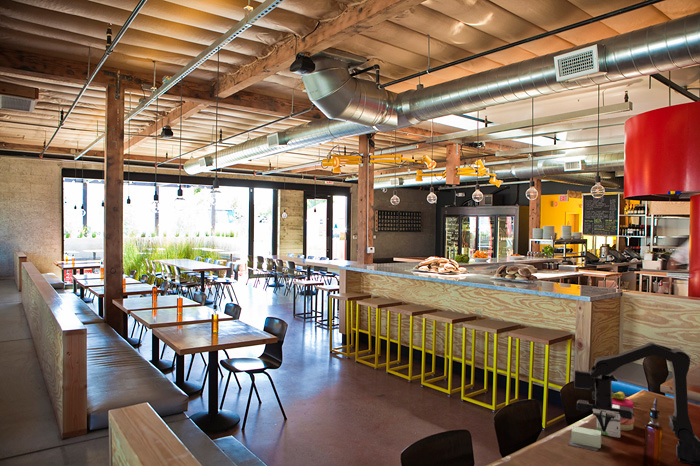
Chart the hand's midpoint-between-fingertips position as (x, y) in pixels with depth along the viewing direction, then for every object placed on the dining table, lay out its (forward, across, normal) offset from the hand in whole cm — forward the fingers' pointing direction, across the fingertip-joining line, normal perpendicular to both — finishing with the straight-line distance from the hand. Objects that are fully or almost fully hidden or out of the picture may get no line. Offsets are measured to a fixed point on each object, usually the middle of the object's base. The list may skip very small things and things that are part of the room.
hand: (604, 431), depth 178 cm
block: (+4, +1, 0) cm, 4 cm away
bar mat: (+6, +7, 0) cm, 9 cm away
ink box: (+6, -1, -15) cm, 16 cm away
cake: (+6, -5, -27) cm, 28 cm away
